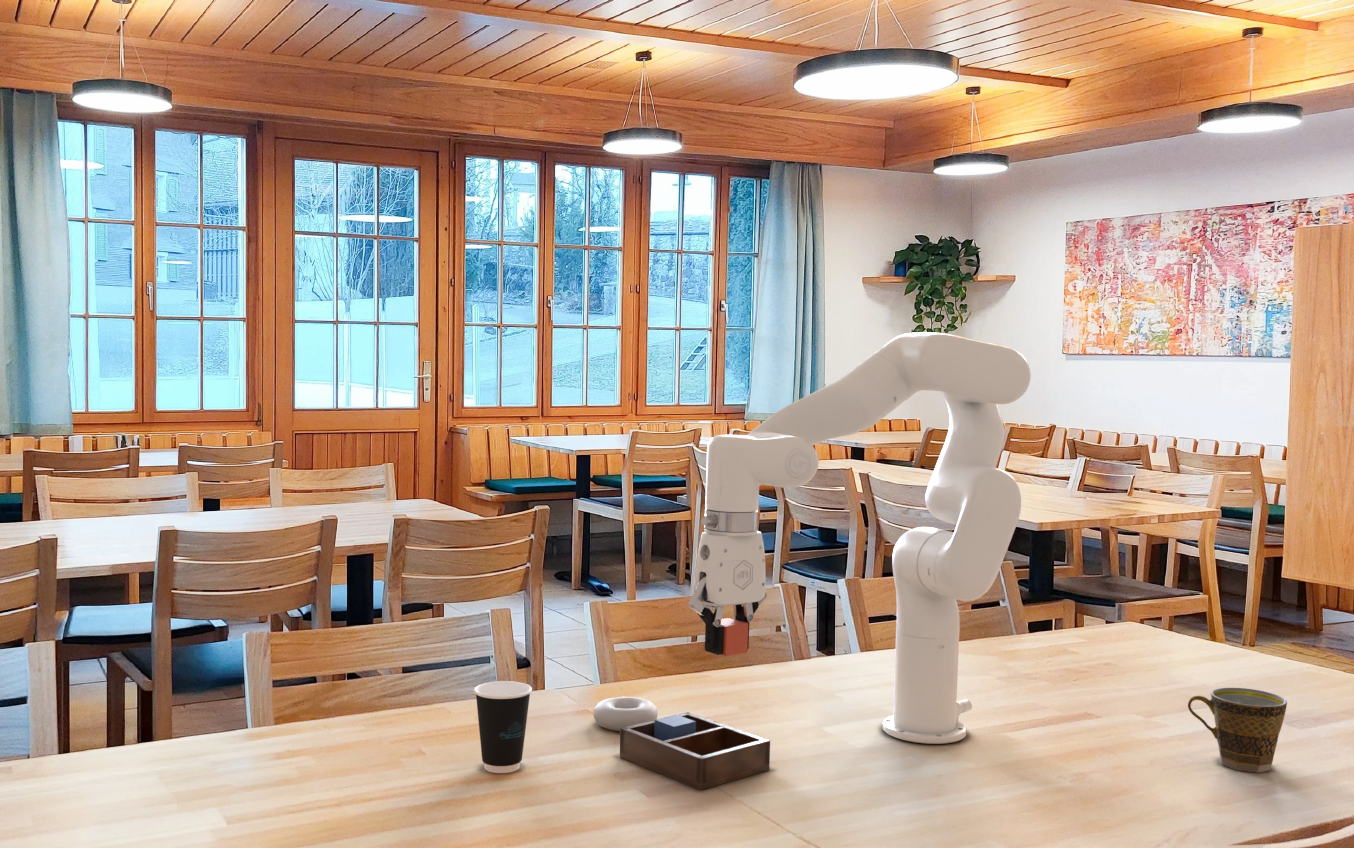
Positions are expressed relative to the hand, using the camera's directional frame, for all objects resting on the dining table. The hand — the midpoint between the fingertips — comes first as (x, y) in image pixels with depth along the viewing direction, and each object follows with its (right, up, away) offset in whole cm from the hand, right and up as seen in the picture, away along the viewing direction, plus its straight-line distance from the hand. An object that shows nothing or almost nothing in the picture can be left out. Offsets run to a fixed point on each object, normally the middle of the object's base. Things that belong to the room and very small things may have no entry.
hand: (726, 649), depth 176 cm
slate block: (-7, -14, +1) cm, 16 cm away
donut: (-15, -15, +16) cm, 26 cm away
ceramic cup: (+73, -17, +3) cm, 76 cm away
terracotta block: (0, 0, 0) cm, 0 cm away
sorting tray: (-5, -16, -2) cm, 17 cm away
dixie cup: (-31, -15, -5) cm, 35 cm away
